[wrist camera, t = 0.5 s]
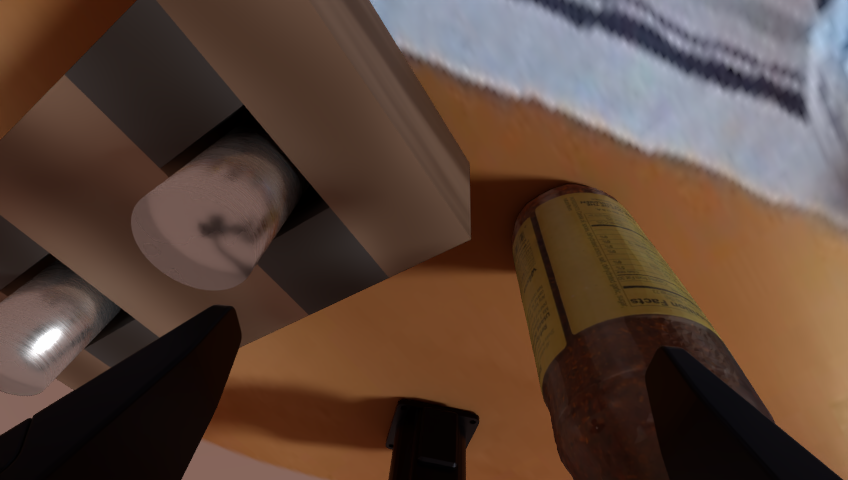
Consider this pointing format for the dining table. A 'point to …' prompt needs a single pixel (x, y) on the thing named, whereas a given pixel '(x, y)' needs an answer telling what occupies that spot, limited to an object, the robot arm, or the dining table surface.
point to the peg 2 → (219, 210)
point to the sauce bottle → (605, 329)
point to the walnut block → (203, 126)
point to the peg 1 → (48, 327)
